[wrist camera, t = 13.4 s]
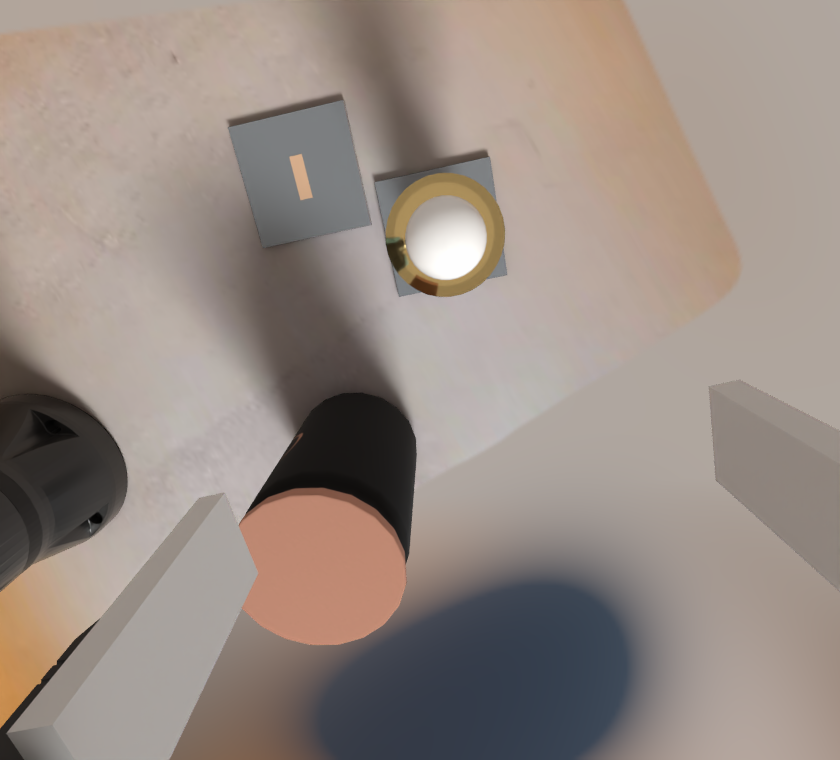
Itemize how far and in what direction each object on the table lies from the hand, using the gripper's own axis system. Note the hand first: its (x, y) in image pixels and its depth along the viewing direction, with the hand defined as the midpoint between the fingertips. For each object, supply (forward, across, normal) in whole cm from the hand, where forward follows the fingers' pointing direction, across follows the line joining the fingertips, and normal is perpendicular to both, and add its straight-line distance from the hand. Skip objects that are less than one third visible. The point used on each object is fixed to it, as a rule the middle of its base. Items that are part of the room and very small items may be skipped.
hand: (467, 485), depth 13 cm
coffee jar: (+30, -10, -11) cm, 34 cm away
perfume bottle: (+29, +2, +6) cm, 30 cm away
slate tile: (+30, -8, +12) cm, 33 cm away
